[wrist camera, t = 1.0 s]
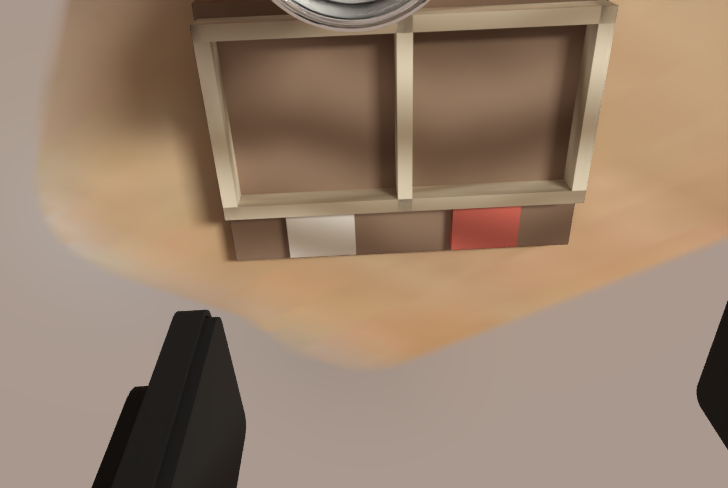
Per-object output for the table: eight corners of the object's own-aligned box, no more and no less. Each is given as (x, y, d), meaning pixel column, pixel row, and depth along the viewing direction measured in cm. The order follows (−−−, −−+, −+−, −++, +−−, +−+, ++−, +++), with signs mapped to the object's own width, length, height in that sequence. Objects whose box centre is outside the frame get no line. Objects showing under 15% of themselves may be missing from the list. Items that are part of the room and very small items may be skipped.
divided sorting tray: (196, -1, 30) (184, 9, 28) (601, -19, 30) (623, -11, 28) (239, 250, 38) (233, 274, 36) (561, 234, 38) (576, 257, 36)
